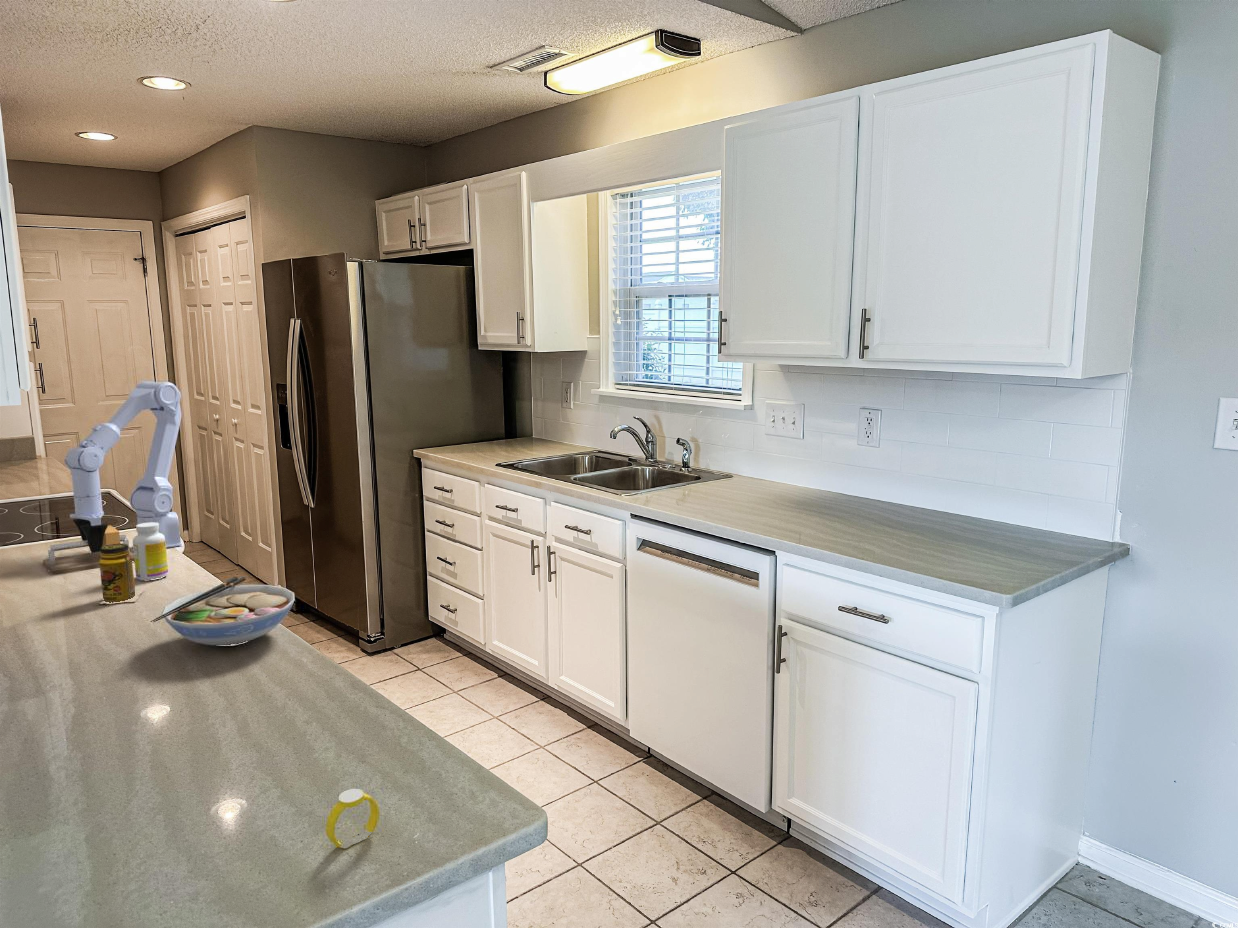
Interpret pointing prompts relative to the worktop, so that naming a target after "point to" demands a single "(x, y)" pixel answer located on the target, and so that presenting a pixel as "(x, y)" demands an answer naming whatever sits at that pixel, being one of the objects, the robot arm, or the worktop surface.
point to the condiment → (116, 573)
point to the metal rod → (74, 545)
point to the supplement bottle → (149, 552)
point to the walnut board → (75, 563)
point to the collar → (111, 536)
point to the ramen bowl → (229, 612)
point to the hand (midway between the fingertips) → (92, 548)
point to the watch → (351, 800)
